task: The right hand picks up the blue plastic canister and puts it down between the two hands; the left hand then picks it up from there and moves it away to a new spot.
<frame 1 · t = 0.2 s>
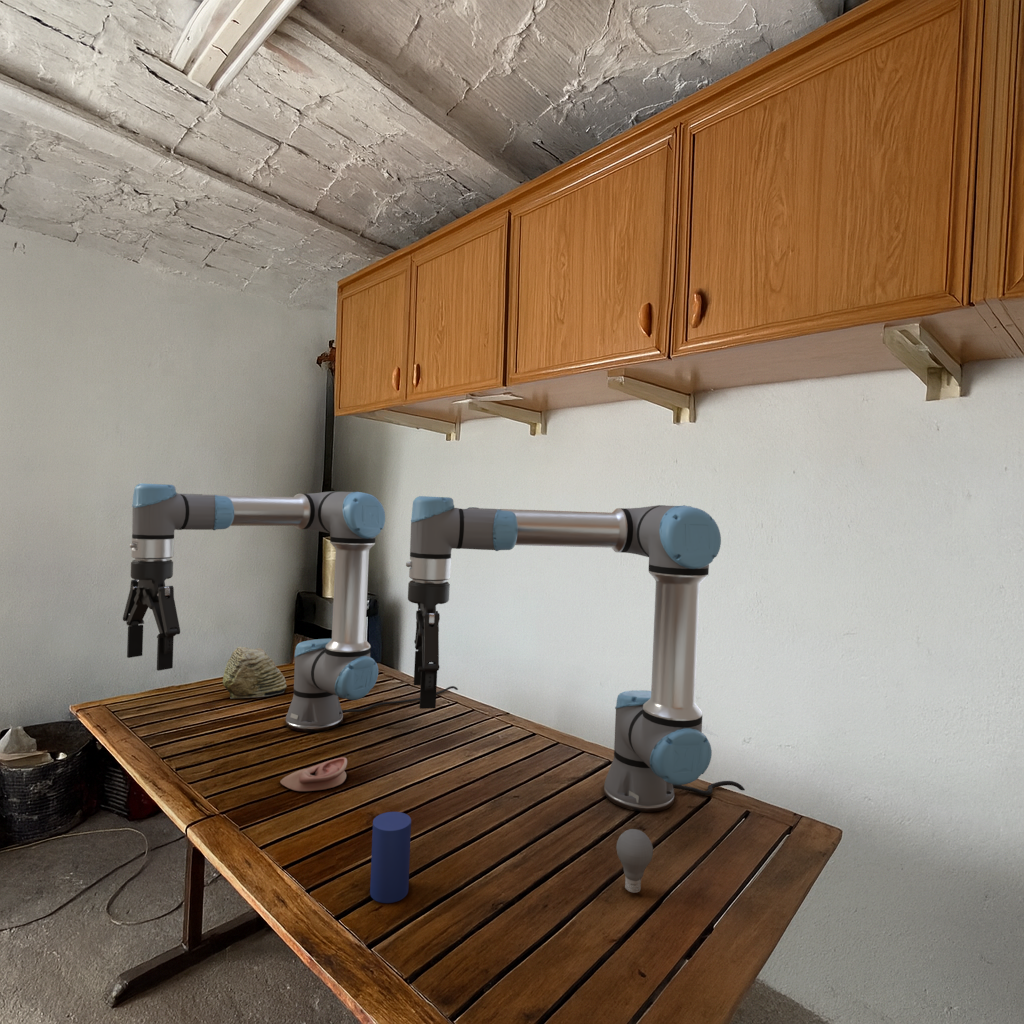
left hand: (149, 662, 130), 28 cm above the table, tool pointing down, fingers open, 13 cm apart
right hand: (424, 695, 116), 28 cm above the table, tool pointing down, fingers open, 13 cm apart
canister: (389, 891, 103), on the table
anatomical model: (314, 781, 141), on the table
light bulb: (632, 891, 106), on the table
fossil: (254, 694, 198), on the table
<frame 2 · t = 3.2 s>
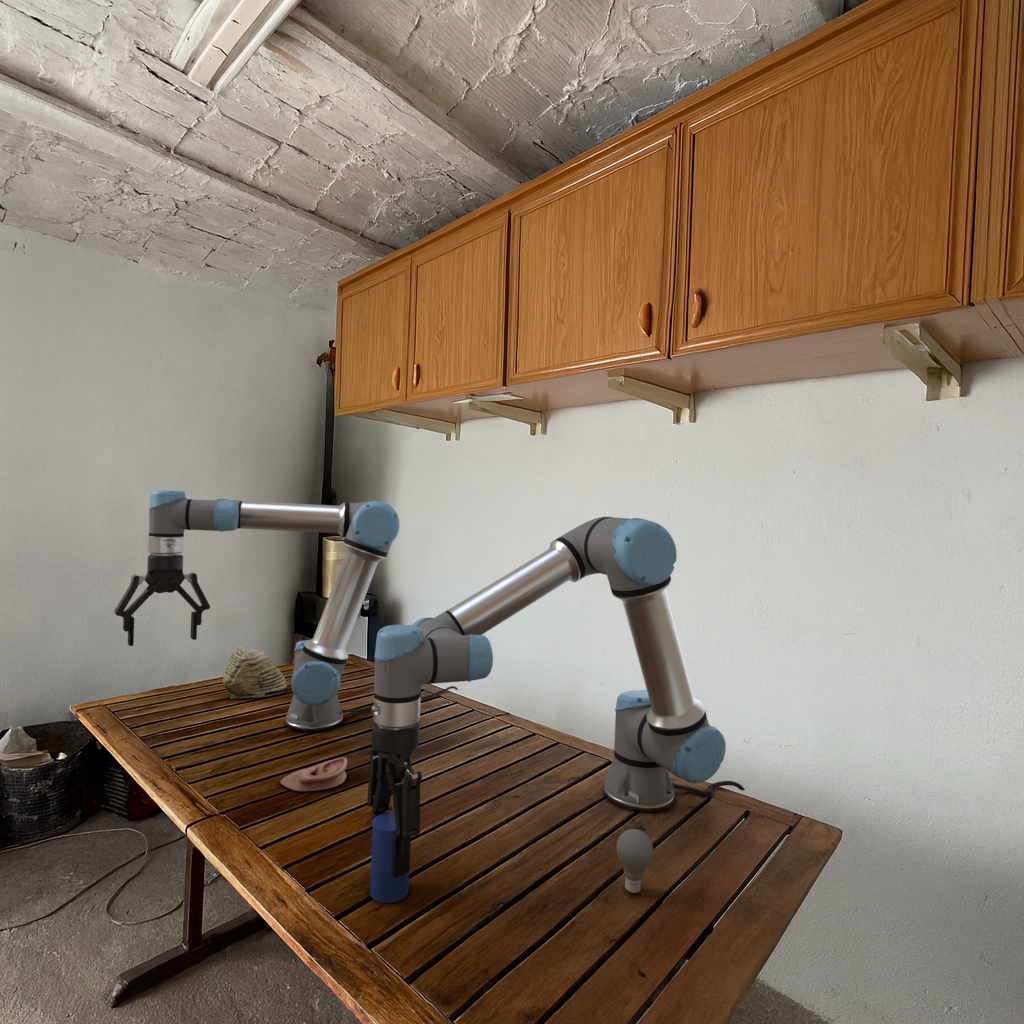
left hand: (162, 641, 153), 26 cm above the table, tool pointing down, fingers open, 13 cm apart
right hand: (390, 863, 103), 5 cm above the table, tool pointing down, fingers closed on canister, 6 cm apart
canister: (389, 891, 103), on the table, touching right hand
everything else where it was.
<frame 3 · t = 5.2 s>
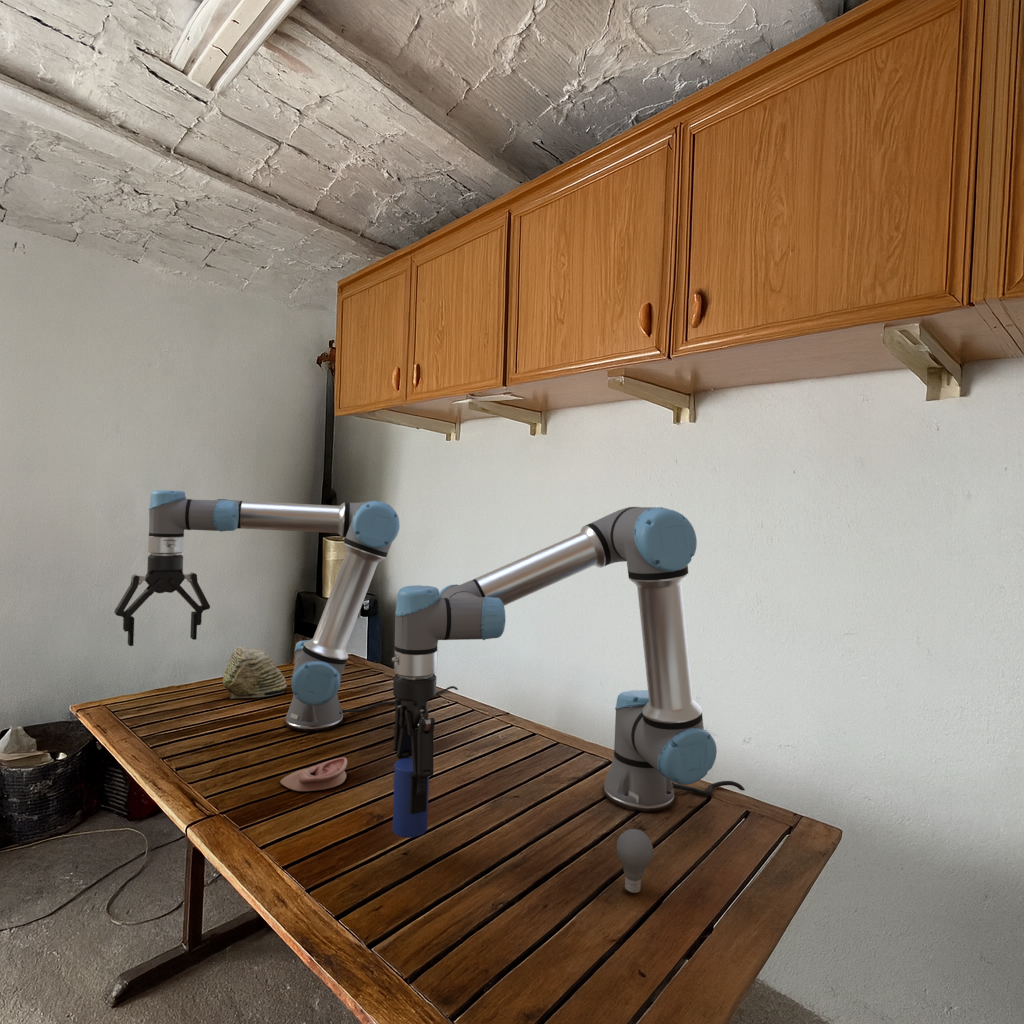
left hand: (162, 641, 153), 26 cm above the table, tool pointing down, fingers open, 13 cm apart
right hand: (411, 802, 112), 10 cm above the table, tool pointing down, fingers closed on canister, 6 cm apart
canister: (410, 828, 113), point 5 cm above the table, touching right hand
everything else where it was.
when the right hand's fingers open (7 cm above the table, at t = 7.6 s): canister drops 2 cm, on the table.
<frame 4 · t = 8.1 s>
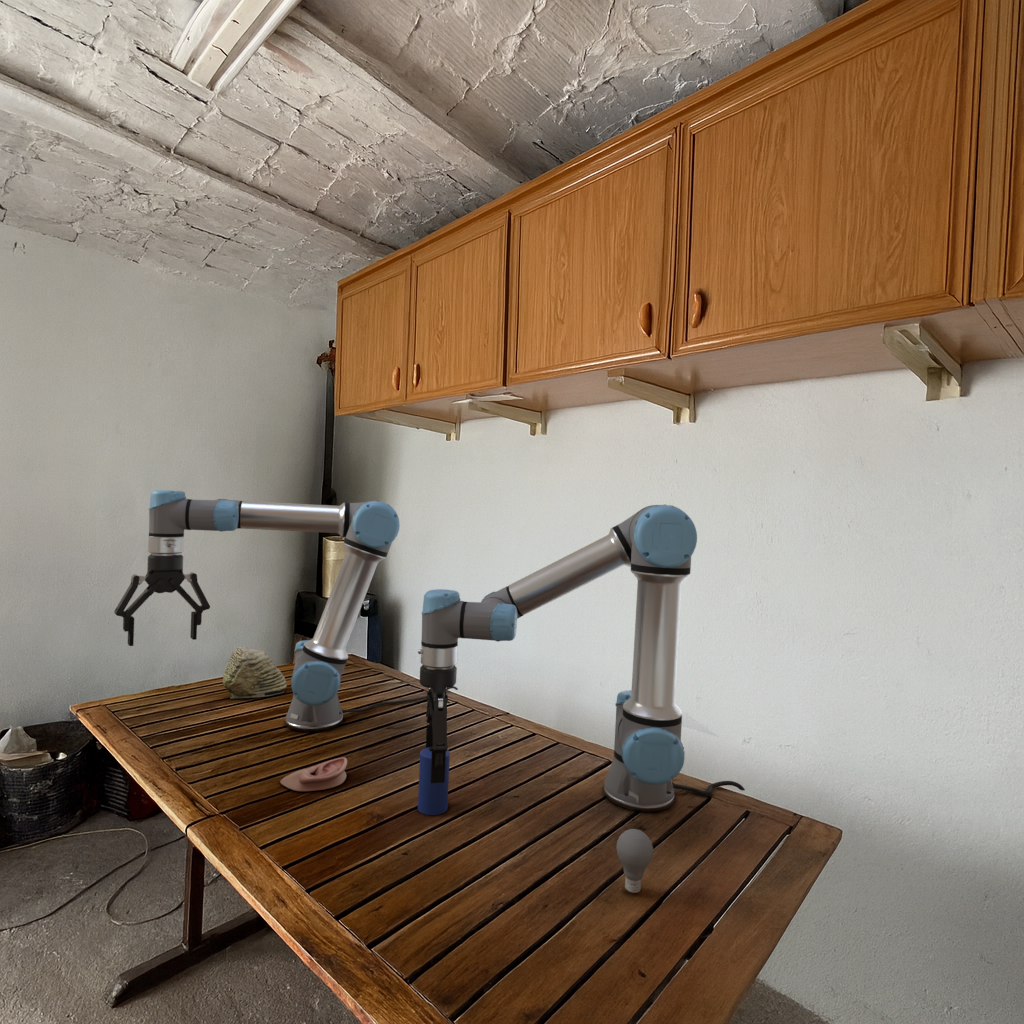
left hand: (162, 641, 153), 26 cm above the table, tool pointing down, fingers open, 13 cm apart
right hand: (434, 767, 131), 8 cm above the table, tool pointing down, fingers open, 13 cm apart
canister: (432, 808, 131), on the table
everything else where it was.
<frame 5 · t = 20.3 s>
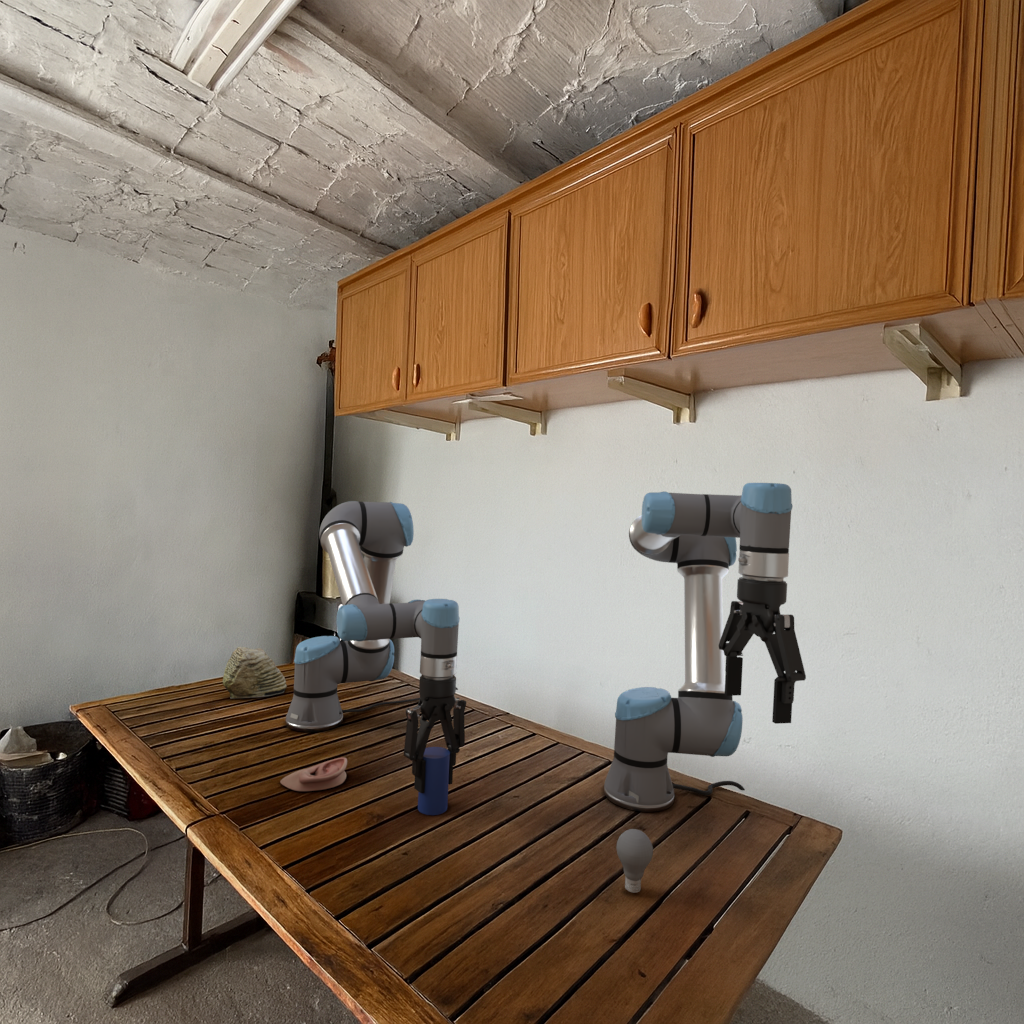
left hand: (433, 785, 131), 5 cm above the table, tool pointing down, fingers closed on canister, 6 cm apart
right hand: (755, 708, 103), 32 cm above the table, tool pointing down, fingers open, 13 cm apart
canister: (432, 807, 131), on the table, touching left hand
everything else where it was.
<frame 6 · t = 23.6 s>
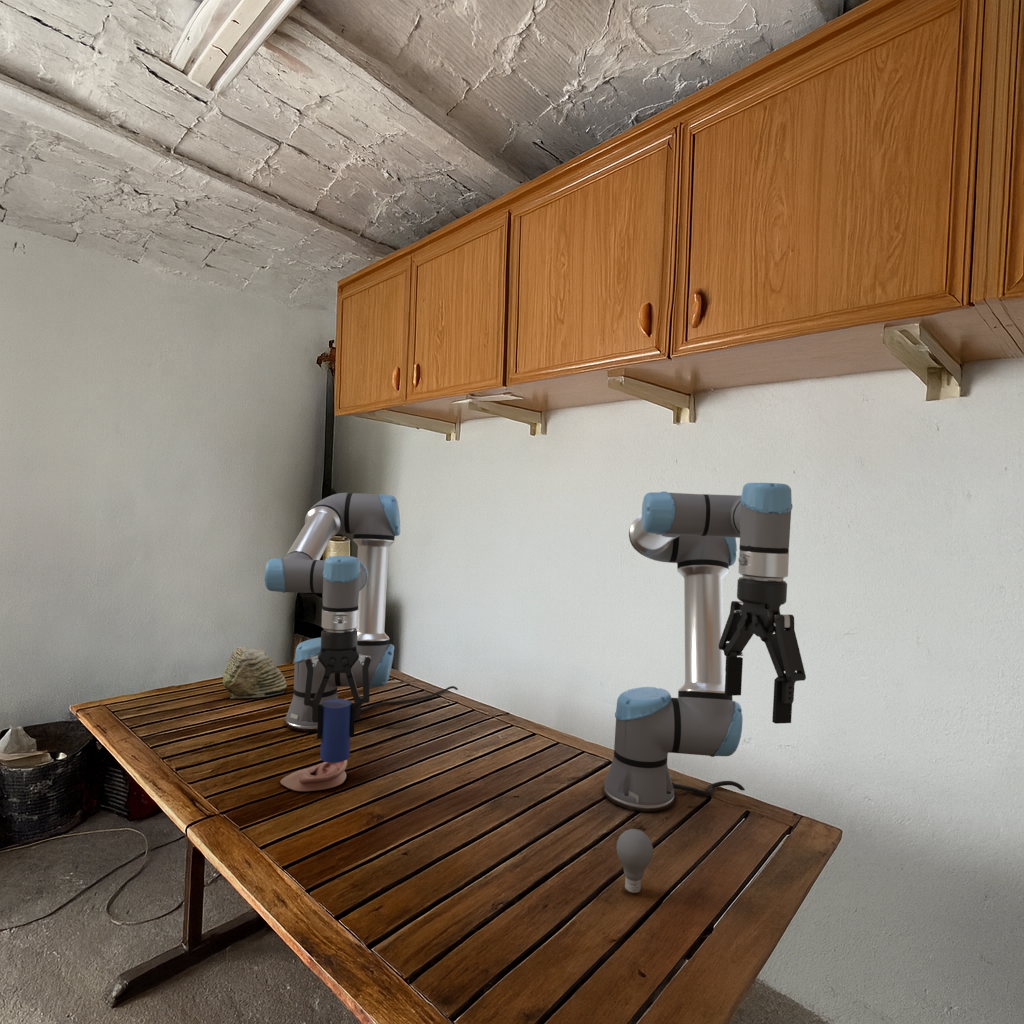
left hand: (335, 735, 136), 12 cm above the table, tool pointing down, fingers closed on canister, 6 cm apart
right hand: (755, 708, 103), 32 cm above the table, tool pointing down, fingers open, 13 cm apart
canister: (335, 756, 136), point 8 cm above the table, touching left hand
everything else where it was.
when the left hand's fingers open (7 cm above the table, at t = 27.0 s): canister drops 2 cm, on the table.
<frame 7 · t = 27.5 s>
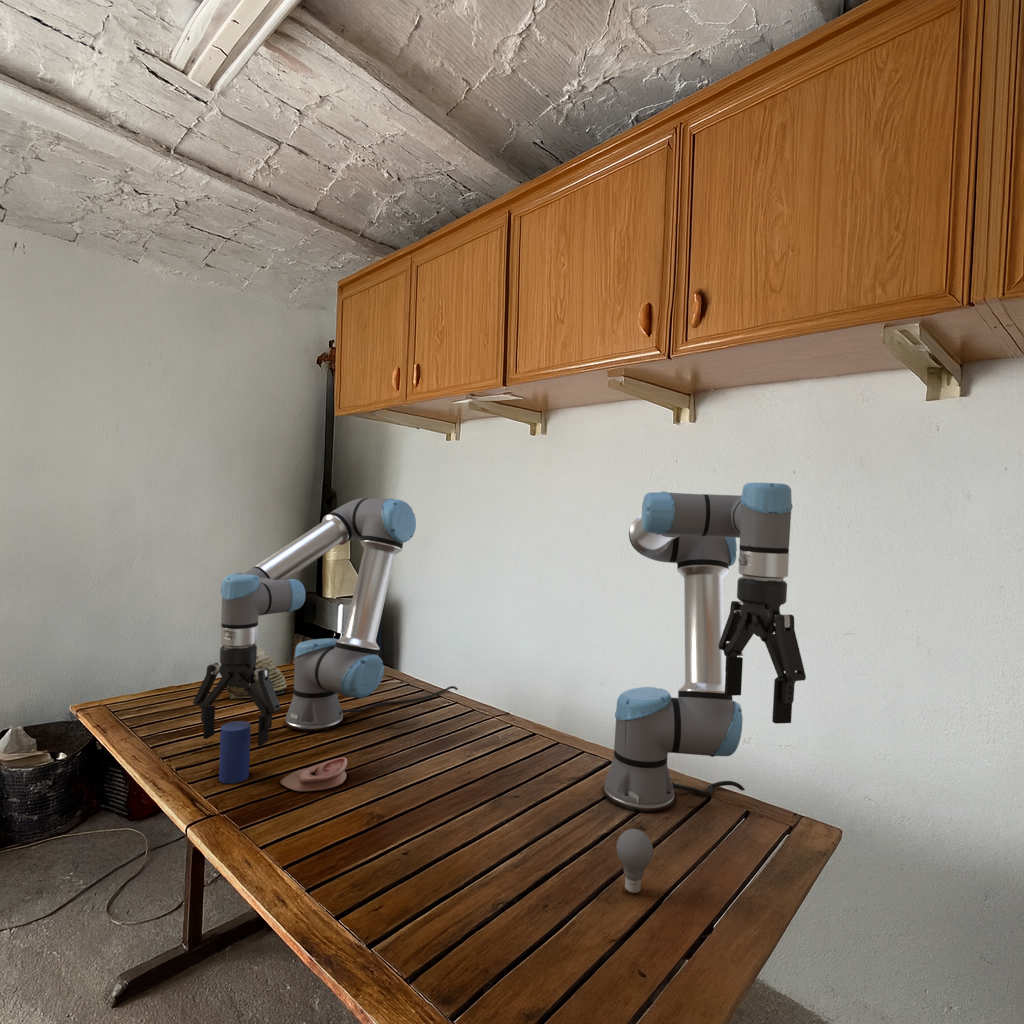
left hand: (235, 740, 141), 8 cm above the table, tool pointing down, fingers open, 13 cm apart
right hand: (755, 708, 103), 32 cm above the table, tool pointing down, fingers open, 13 cm apart
canister: (234, 777, 141), on the table
everything else where it was.
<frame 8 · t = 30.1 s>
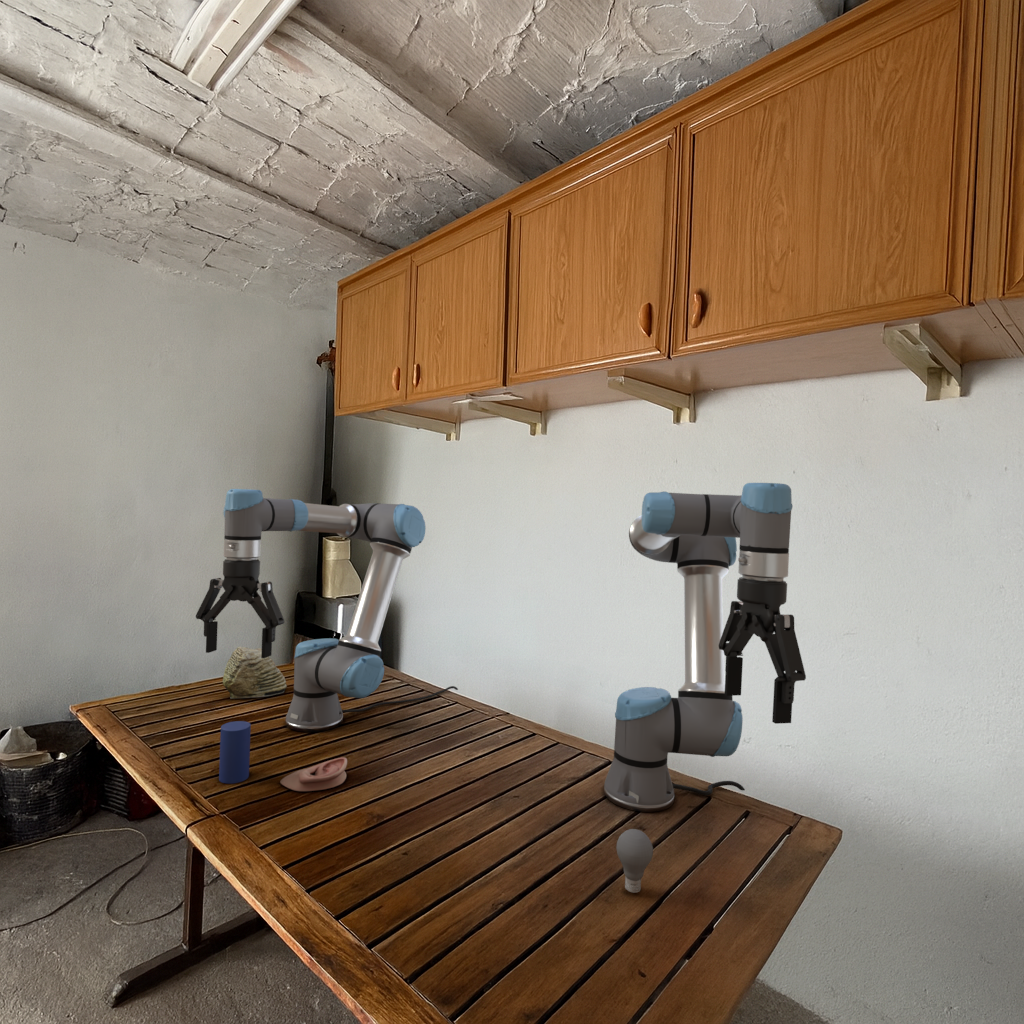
left hand: (238, 654, 140), 28 cm above the table, tool pointing down, fingers open, 13 cm apart
right hand: (755, 708, 103), 32 cm above the table, tool pointing down, fingers open, 13 cm apart
nothing on the table moved.
at the end: canister inside the target area (0.0 cm from its centre), on the table; canister tilted 0°; the two hands never held the canister at the same time; the left hand is holding nothing; the right hand is holding nothing; canister at rest at the end (0.0 cm/s) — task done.
